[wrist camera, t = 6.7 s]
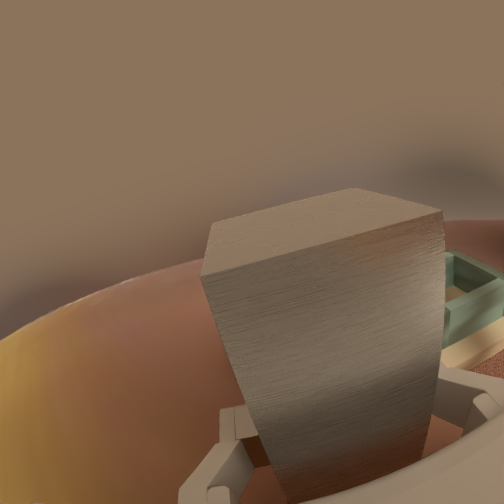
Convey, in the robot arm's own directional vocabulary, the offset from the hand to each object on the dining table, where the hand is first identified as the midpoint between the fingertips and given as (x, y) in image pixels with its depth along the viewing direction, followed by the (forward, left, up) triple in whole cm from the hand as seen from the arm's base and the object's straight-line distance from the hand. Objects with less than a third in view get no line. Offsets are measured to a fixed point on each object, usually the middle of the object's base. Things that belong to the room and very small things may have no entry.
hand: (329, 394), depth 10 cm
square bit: (0, -1, -8) cm, 8 cm away
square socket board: (+13, +10, -8) cm, 18 cm away
